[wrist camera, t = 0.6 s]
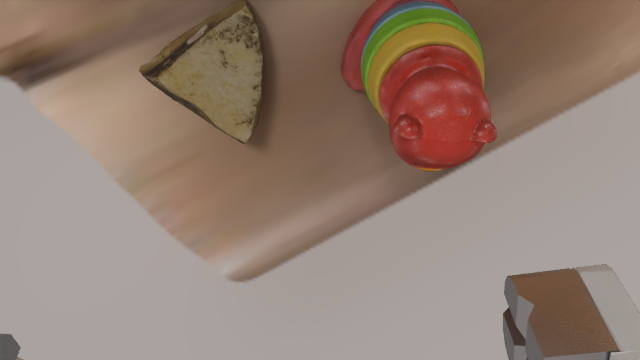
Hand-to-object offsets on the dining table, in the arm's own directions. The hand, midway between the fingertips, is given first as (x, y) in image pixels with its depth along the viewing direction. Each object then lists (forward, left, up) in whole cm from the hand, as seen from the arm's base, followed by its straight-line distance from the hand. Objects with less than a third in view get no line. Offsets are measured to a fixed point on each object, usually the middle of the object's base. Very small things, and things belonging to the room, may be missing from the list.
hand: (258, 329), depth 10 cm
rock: (+8, -6, -44) cm, 45 cm away
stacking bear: (+13, +7, -43) cm, 45 cm away
